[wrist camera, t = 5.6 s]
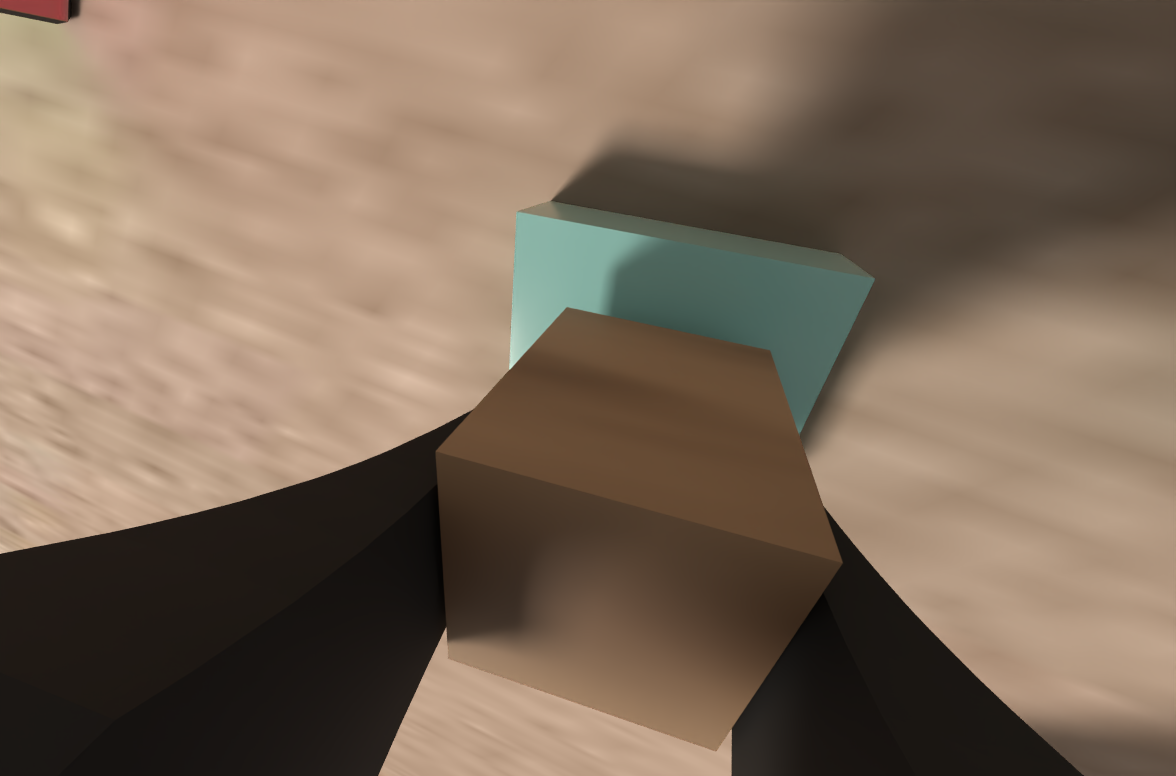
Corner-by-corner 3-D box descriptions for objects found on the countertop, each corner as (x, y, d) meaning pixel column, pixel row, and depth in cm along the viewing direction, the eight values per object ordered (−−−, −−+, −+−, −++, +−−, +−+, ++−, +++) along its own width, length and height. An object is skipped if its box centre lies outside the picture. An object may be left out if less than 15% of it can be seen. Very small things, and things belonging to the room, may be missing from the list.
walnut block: (710, 502, 11) (716, 751, 7) (549, 459, 12) (448, 658, 7) (770, 350, 9) (842, 563, 4) (567, 307, 10) (435, 451, 5)
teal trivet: (741, 472, 16) (750, 535, 13) (534, 420, 17) (504, 468, 14) (836, 250, 11) (875, 278, 9) (554, 199, 12) (516, 211, 10)
